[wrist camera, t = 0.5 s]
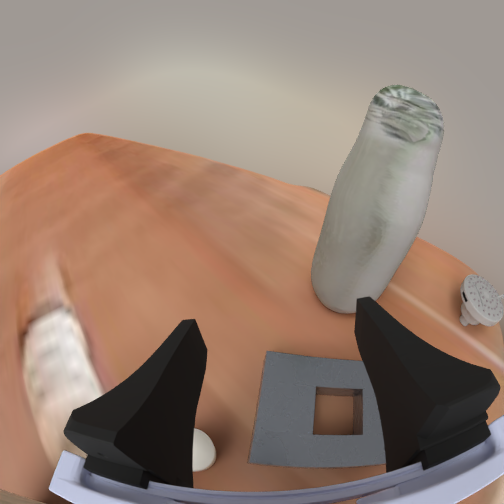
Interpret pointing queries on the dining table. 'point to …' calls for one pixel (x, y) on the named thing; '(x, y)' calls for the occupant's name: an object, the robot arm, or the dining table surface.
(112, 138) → the dining table surface
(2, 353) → the dining table surface
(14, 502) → the canister
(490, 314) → the showerhead
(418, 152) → the grey green bottle
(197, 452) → the white rounded capsule
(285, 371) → the jig
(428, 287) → the dining table surface
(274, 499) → the robot arm
